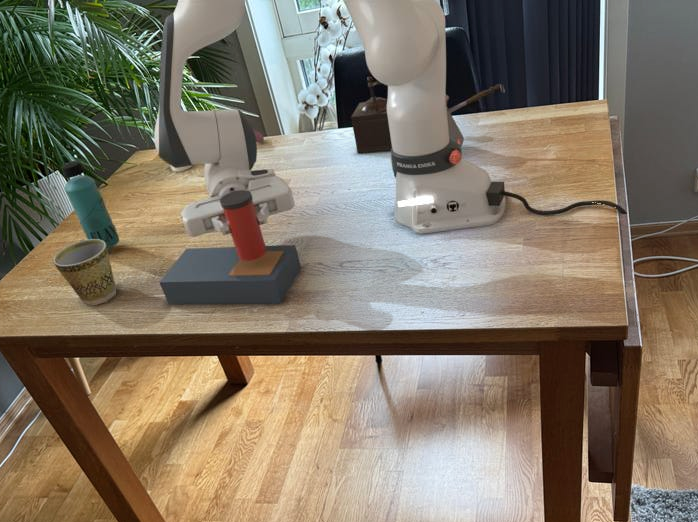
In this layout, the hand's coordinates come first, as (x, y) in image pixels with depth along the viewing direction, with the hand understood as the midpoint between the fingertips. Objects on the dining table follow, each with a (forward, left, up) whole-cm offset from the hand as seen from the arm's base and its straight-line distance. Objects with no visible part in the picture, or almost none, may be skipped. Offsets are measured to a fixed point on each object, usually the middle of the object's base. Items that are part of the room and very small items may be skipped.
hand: (244, 225), depth 121 cm
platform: (+6, -1, -13) cm, 15 cm away
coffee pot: (-30, -57, -13) cm, 65 cm away
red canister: (+1, -1, -6) cm, 6 cm away
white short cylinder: (+45, -60, -13) cm, 76 cm away
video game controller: (+31, -72, -13) cm, 79 cm away
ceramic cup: (+35, 0, -13) cm, 38 cm away
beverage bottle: (+43, -17, -13) cm, 48 cm away
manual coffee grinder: (-9, -68, -13) cm, 70 cm away
